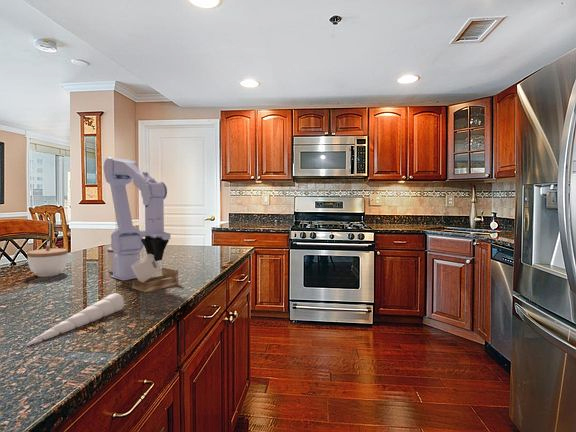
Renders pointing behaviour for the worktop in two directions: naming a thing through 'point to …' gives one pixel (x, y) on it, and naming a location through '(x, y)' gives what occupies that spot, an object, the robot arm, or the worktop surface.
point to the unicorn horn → (85, 316)
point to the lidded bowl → (47, 261)
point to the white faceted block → (145, 268)
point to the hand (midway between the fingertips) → (155, 259)
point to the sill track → (158, 281)
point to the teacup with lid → (110, 259)
